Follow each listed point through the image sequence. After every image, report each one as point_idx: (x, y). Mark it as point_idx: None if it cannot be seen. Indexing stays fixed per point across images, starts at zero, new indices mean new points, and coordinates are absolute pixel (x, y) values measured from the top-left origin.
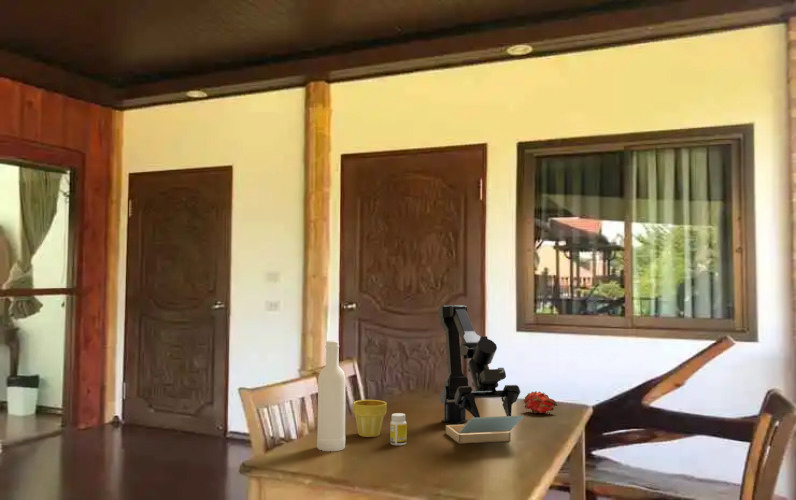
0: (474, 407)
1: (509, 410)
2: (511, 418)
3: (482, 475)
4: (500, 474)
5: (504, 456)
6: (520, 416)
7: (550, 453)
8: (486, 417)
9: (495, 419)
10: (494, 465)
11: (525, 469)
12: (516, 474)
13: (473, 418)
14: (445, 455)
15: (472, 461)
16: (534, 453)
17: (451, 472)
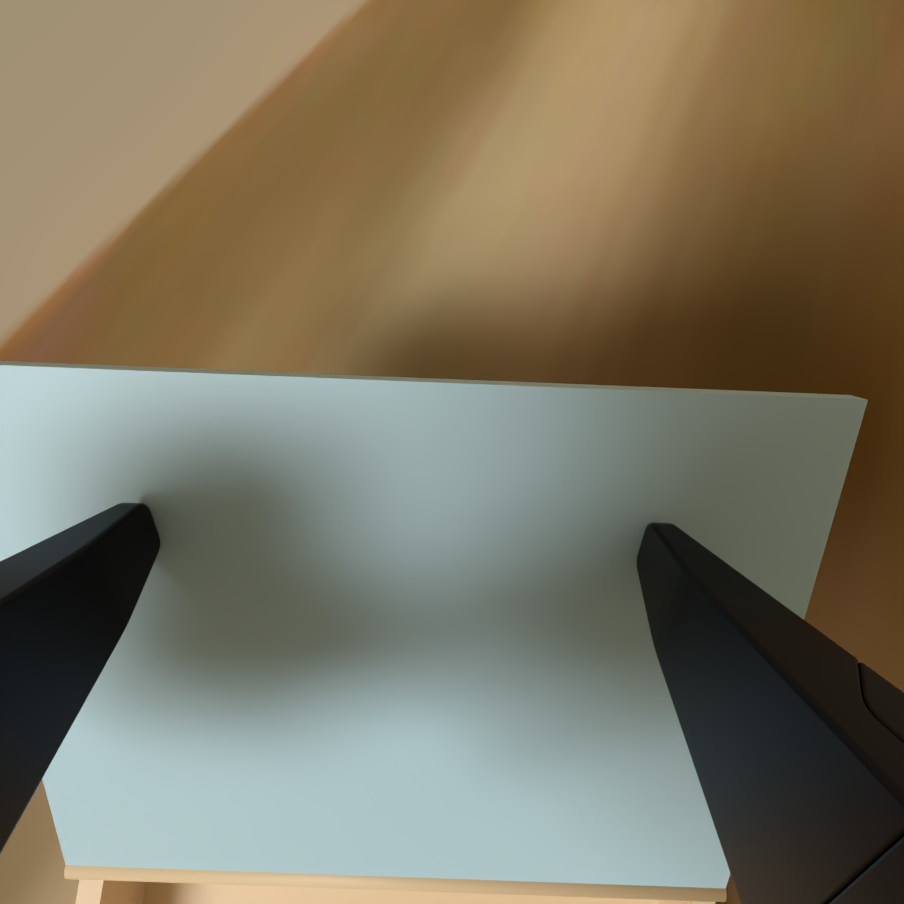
0: (855, 674)
1: (20, 575)
2: (161, 422)
3: (721, 34)
4: (617, 28)
5: (438, 339)
6: (9, 361)
7: (70, 333)
8: (603, 387)
9: (424, 443)
10: (589, 173)
11: (439, 69)
12: (531, 10)
13: (823, 396)
14: (863, 465)
15: (702, 280)
16: (183, 360)
17: (884, 113)
